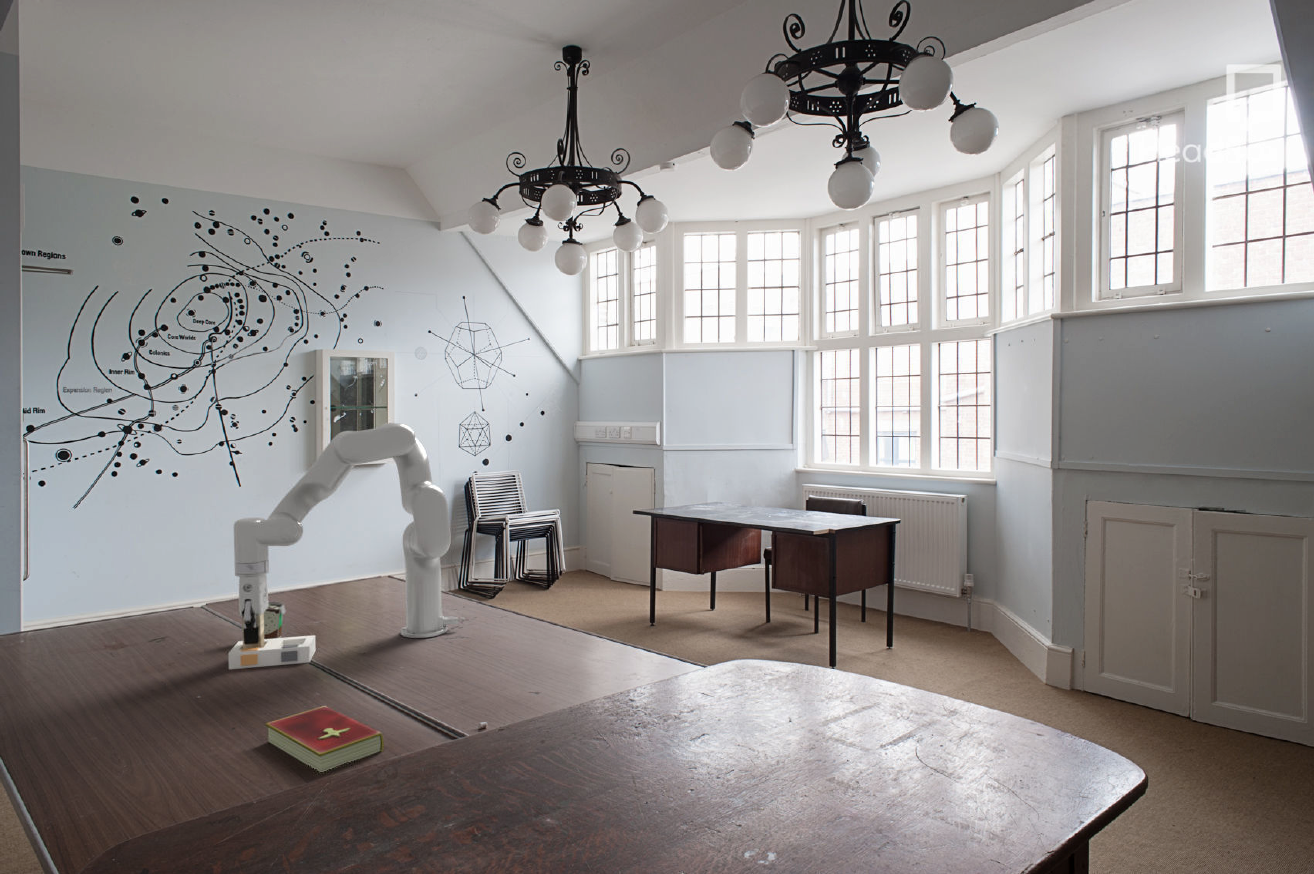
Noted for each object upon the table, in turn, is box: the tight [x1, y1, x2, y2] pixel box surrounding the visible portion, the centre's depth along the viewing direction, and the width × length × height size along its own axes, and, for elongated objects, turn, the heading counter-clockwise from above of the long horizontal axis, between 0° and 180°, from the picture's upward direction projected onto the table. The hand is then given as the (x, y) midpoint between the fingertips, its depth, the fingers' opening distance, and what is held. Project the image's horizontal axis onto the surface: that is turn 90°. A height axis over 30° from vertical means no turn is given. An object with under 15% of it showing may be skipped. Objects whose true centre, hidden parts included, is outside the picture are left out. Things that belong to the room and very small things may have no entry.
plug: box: [241, 613, 264, 649], centre depth 194 cm, size 4×4×10 cm
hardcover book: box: [264, 705, 385, 773], centre depth 144 cm, size 12×21×4 cm, turn 50°
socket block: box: [227, 635, 316, 670], centre depth 195 cm, size 18×10×4 cm, turn 106°
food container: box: [238, 601, 287, 639], centre depth 212 cm, size 12×6×10 cm, turn 84°
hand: (253, 640), depth 194 cm, fingers closed on plug, 4 cm apart
